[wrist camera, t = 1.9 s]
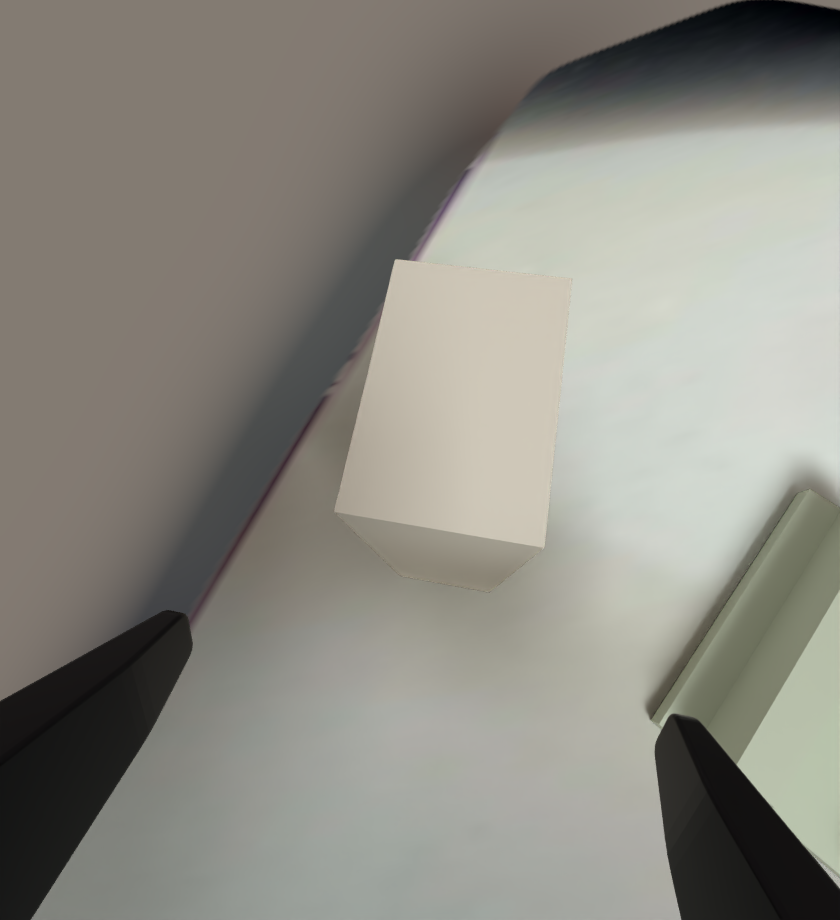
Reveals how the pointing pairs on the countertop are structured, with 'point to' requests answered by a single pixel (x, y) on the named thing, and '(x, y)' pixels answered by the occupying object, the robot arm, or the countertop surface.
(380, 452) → the beige rectangular box
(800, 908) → the robot arm
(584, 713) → the countertop surface
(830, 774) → the tile rack
